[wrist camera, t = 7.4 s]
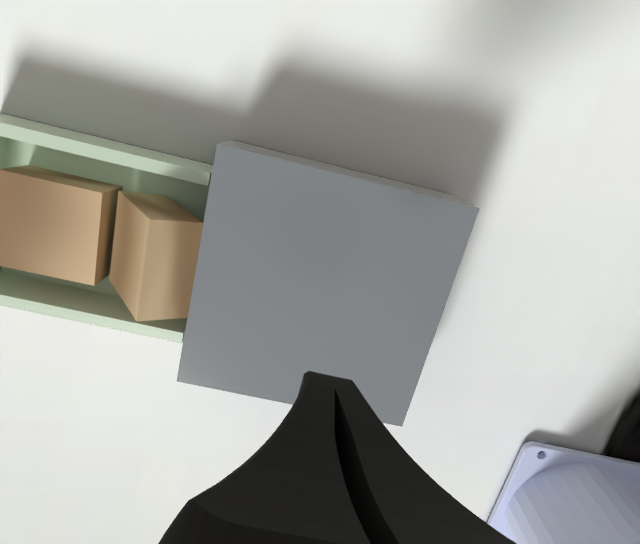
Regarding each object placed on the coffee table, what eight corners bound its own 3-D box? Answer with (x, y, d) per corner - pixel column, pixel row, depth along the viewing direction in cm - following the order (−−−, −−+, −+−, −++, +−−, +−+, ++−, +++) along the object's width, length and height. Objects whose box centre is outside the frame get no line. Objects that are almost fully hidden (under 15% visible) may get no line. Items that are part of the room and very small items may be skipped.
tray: (222, 167, 20) (209, 173, 18) (195, 319, 22) (181, 343, 20) (-1, 112, 19) (-46, 111, 17) (-6, 276, 21) (-46, 296, 19)
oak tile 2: (-3, 169, 18) (28, 164, 19) (-4, 265, 19) (25, 252, 21) (102, 193, 18) (122, 186, 20) (94, 285, 19) (113, 271, 21)
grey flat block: (452, 194, 20) (479, 208, 17) (389, 383, 23) (401, 426, 20) (233, 139, 20) (216, 143, 16) (197, 343, 23) (176, 381, 19)
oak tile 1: (203, 223, 17) (149, 219, 16) (187, 317, 18) (136, 321, 17) (166, 195, 20) (118, 190, 19) (154, 279, 21) (109, 279, 20)
